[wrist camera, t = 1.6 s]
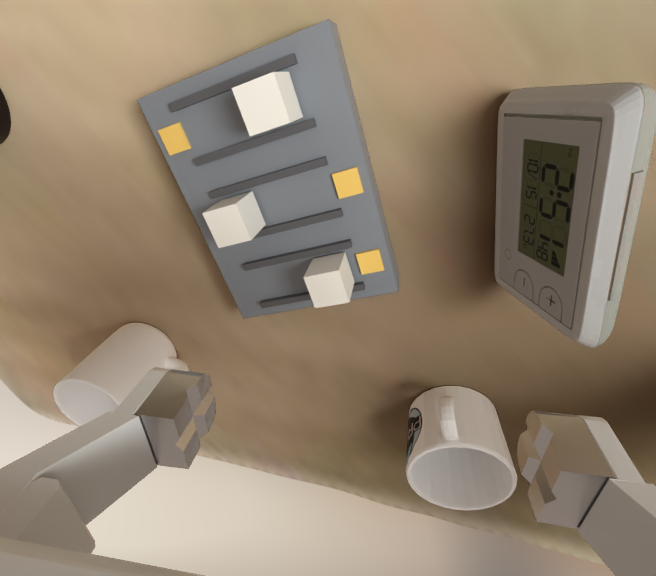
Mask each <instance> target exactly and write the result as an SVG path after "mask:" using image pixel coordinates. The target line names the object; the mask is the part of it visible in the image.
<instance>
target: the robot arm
mask: <svg viewBox="0 0 656 576" xmlns="http://www.w3.org/2000/svg"><path fill="white" fill-rule="evenodd" d="M211 385H212V383H211V380H210V376H209V375H207V374H203V373H196V372H189V371H182V370H174V369H165V368H158V367H155V368H153V369H151V370H149V371H148V372H147V374H146V375H145V376H144V377H143V378H142V379H141V381H140V382H139V383H138V384H137V385H136V387H135V388H134V389H133V390H132V391H131V392H130V394H129V395H128V396H127V397H126V398H125V400H124V401H123V402H122V403H121V404H120V405H119V407H118V408H117V409H116V410H115V411H114V412H107V413H105V414H103V415H101V416H99V417H97V418H96V419H94V420H92V421H90V422H88V423H86V424H84V425H82V426H80V427H79V428H77V429H75V430H73V431H71V432H69V433H67V434H66V435H63V436H62V437H60V438H58V439H56V440H54V441H52V442H50V443H48V444H46V445H45V446H43V447H41V448H39V449H37V450H35V451H33V452H31V453H29V454H28V455H26V456H24V457H22V458H20V459H18V460H16V461H14V462H12V463H11V464H9V465H7V466H5V467H3V468H1V469H0V576H203V575H197V574H193V573H187V572H182V571H177V570H172V569H166V568H161V567H156V566H151V565H145V564H140V563H135V562H130V561H125V560H120V559H115V558H109V557H104V556H99V555H94V554H91V553H92V551H93V549H94V548H95V541H94V539H93V537H92V535H91V534H90V532H89V530H88V529H87V527H86V525H87V524H88V523H89V522H91V521H92V520H93V519H94V518H95V517H97V516H98V515H99V514H100V513H102V512H103V511H104V510H105V509H106V508H107V507H109V506H110V505H111V504H113V503H114V502H115V501H116V500H117V499H119V498H120V497H121V496H122V495H124V494H125V493H126V492H127V491H128V490H130V489H131V488H132V487H133V486H135V485H136V484H137V483H138V482H139V481H141V480H142V479H143V478H144V477H145V476H147V475H148V474H149V473H151V472H152V471H153V470H154V469H155V468H156V467H157V465H160V466H169V467H177V468H185V469H189V467H190V465H191V463H192V461H193V459H194V458H195V456H196V454H197V452H198V450H199V448H200V442H199V438H200V437H201V436H203V435H204V434H206V433H207V432H208V431H209V429H210V427H211V425H212V423H213V420H214V416H215V412H216V402H215V397H214V396H213V395H212V394H211V393H210V392H209V391H208V390H209V389H210V387H211ZM525 422H526V425H527V427H528V430H526V431H525V432H523V433H521V434H520V437H519V440H518V443H517V458H518V465H519V468H520V471H521V475H522V476H523V477H524V478H525V479H526V480H527V481H528V482H529V483H530V484H531V485H530V487H529V490H528V492H527V494H528V497H529V500H530V503H531V506H532V509H533V512H534V515H535V518H536V521H537V522H541V523H547V524H553V525H558V526H564V527H569V528H575V529H578V532H579V533H580V534H581V536H582V537H583V538H584V539H585V540H586V542H587V543H588V544H589V545H590V546H591V547H592V549H593V550H594V551H595V552H596V553H597V554H598V556H599V557H600V558H601V559H602V560H603V561H604V563H605V564H606V565H607V566H608V567H609V568H610V570H611V571H612V572H613V573H614V574H615V576H656V486H655V485H654V484H648V483H645V482H644V480H643V478H642V477H641V475H640V474H639V472H638V470H637V469H636V467H635V466H634V464H633V462H632V461H631V459H630V458H629V456H628V454H627V453H626V451H625V450H624V448H623V446H622V445H621V443H620V442H619V440H618V438H617V437H616V435H615V434H614V432H613V430H612V429H611V427H610V425H609V424H608V422H607V421H606V420H604V419H603V418H601V417H591V416H581V415H577V416H576V415H571V414H562V413H552V412H542V411H533V410H532V411H531V412H530V413H529V414H528V416H527V418H526V421H525Z"/></svg>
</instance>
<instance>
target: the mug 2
mask: <svg viewBox="0 0 656 576" xmlns="http://www.w3.org/2000/svg"><path fill="white" fill-rule="evenodd" d="M406 476H407V480H408V482H409V484H410V486H411V487H412V489H413V490H414V491H415V492H416V493H417V494H418V495H419V496H420V497H422V498H424V499H425V500H427V501H428V502H431V503H433V504H436V505H438V506H441V507H445V508H449V509H454V510H466V511H468V510H481V509H485V508H490V507H493V506H495V505H498V504H500V503H502V502H504V501H505V500H506V499H507V498H509V497H510V496H511V495H512V493H513V491H514V490H515V488H516V485H517V474H516V471H515V468H514V465H513V462H512V459H511V456H510V453H509V449H508V446H507V443H506V440H505V437H504V434H503V431H502V428H501V425H500V422H499V419H498V415H497V412H496V409H495V406H494V405H493V404H492V403H491V401H490V400H489V399H488V398H487V397H485V396H484V395H482V394H481V393H479V392H477V391H474V390H472V389H469V388H465V387H460V386H442V387H437V388H433V389H431V390H428V391H426V392H424V393H422V394H421V395H420V396H418V397H417V398H416V399H415V400H414V402H413V403H412V404H411V407H410V411H409V421H408V440H407V458H406Z"/></svg>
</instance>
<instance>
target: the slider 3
mask: <svg viewBox="0 0 656 576" xmlns="http://www.w3.org/2000/svg"><path fill="white" fill-rule="evenodd" d="M303 278H304V280H305V283H306V286H307V288H308V291H309V294H310V296H311V299H312V301H313V304H314V307H315V308H320V307H326V306H332V305H338V304H344V303H349V302H350V298H351V294H352V290H353V286H354V278H353V275H352V272H351V269H350V266H349V262H348V259H347V256H346V253H345V252H342V253H337V254H332V255H328V256H323V257H318V258H314V259H312V261H311V263H310V265H309V267H308V269H307V271H306V273H305V275H304V277H303Z"/></svg>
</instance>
